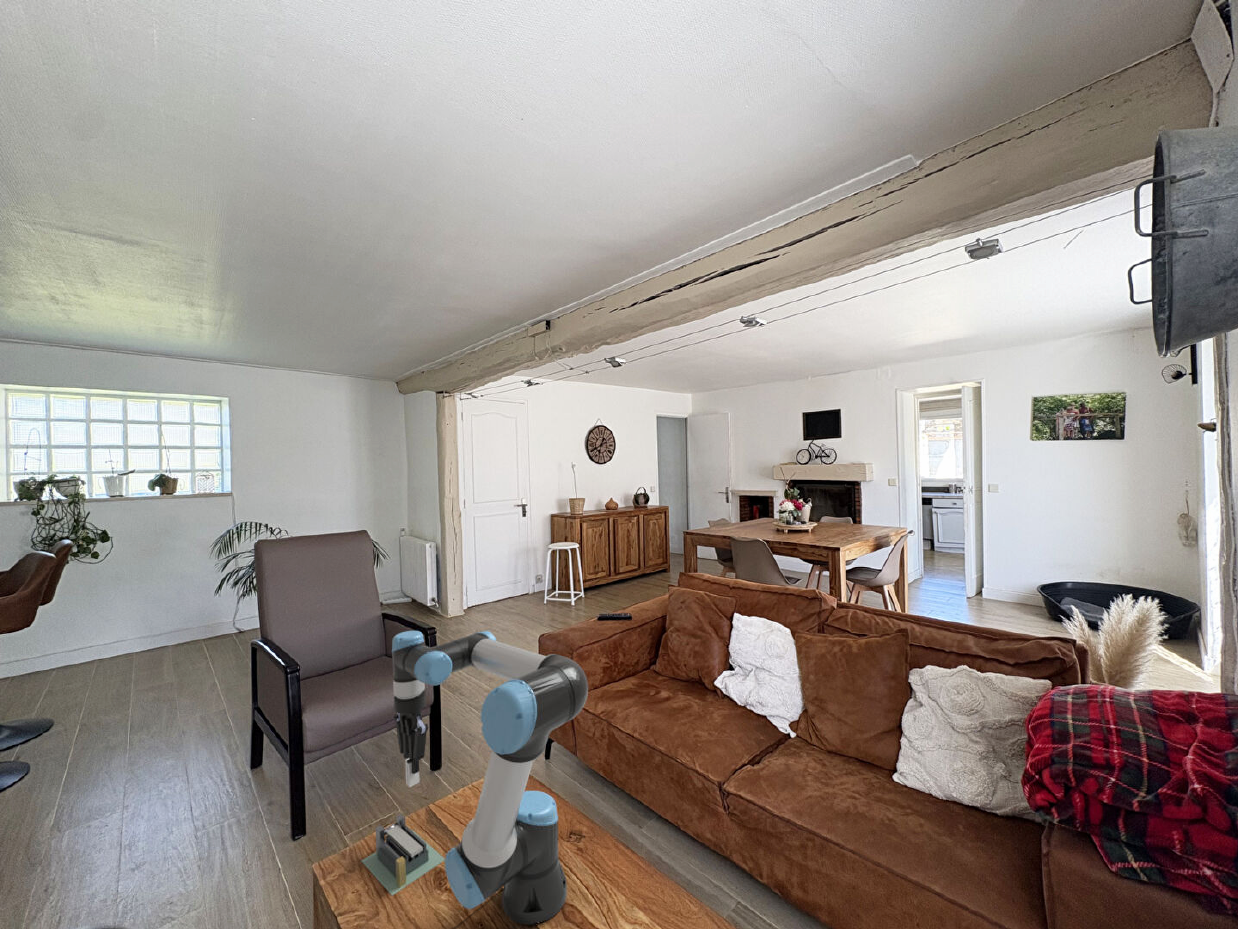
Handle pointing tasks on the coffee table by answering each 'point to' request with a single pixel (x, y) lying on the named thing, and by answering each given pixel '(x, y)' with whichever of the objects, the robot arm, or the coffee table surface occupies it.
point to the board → (390, 880)
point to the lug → (400, 872)
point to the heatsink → (401, 854)
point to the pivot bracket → (381, 834)
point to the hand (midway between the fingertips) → (412, 783)
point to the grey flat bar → (403, 840)
